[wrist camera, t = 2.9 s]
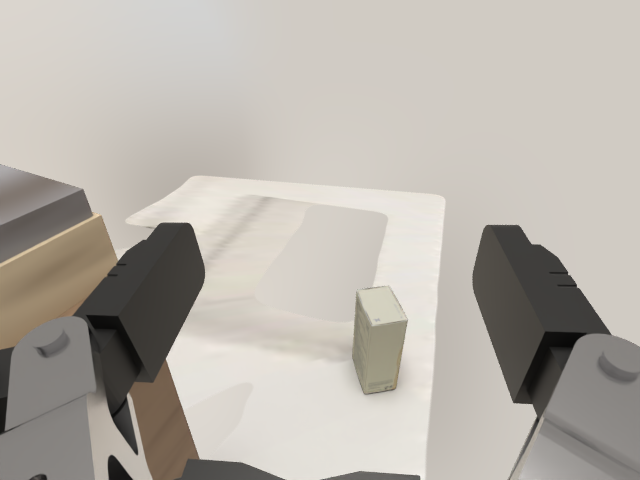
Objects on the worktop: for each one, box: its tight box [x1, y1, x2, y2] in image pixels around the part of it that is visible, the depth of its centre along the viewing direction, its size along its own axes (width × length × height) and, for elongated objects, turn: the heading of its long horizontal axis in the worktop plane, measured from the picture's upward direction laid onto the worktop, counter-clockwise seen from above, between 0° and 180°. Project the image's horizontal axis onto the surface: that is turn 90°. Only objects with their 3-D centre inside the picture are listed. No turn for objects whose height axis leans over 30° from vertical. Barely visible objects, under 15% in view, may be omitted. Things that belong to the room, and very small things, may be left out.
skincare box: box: [352, 286, 408, 394], centre depth 45 cm, size 6×4×12 cm
